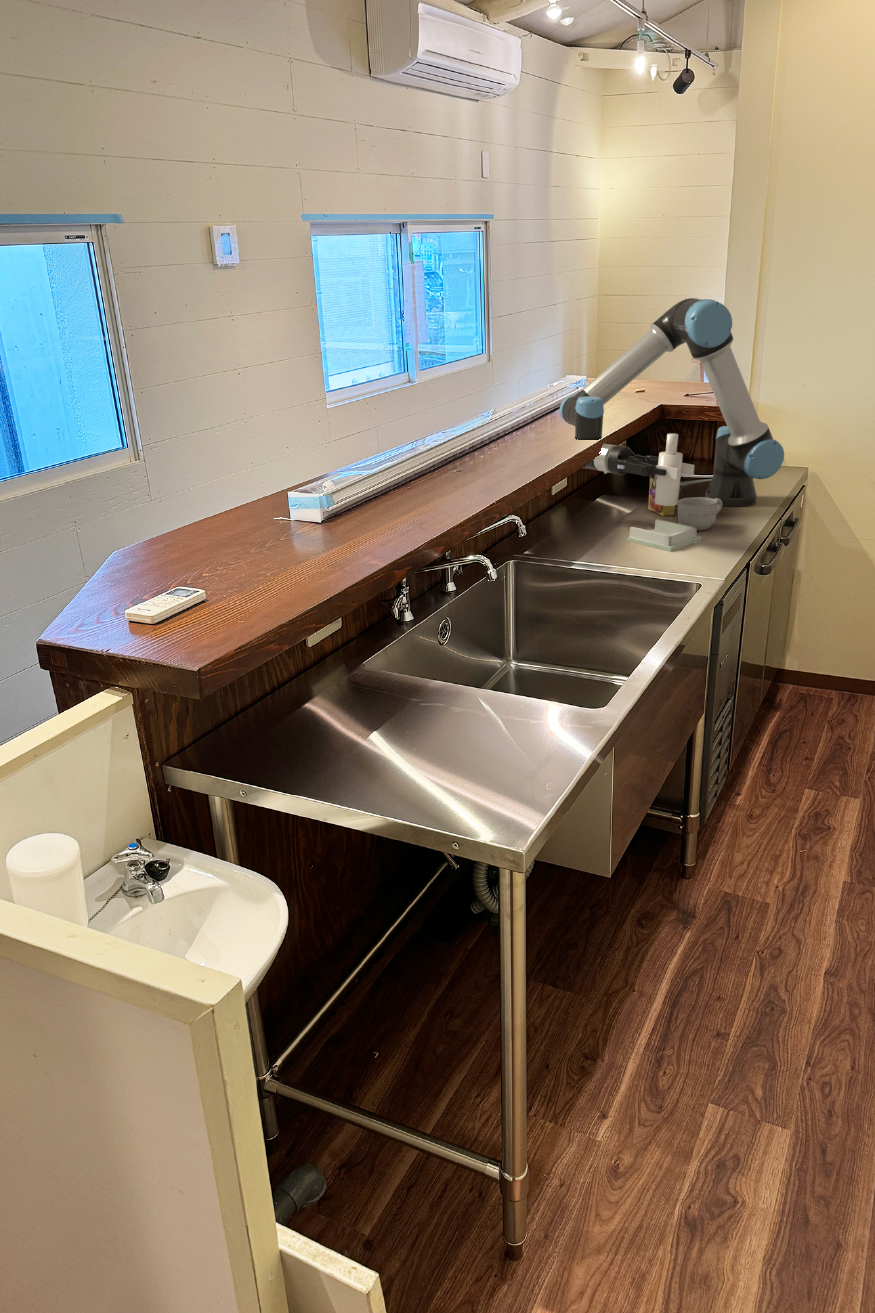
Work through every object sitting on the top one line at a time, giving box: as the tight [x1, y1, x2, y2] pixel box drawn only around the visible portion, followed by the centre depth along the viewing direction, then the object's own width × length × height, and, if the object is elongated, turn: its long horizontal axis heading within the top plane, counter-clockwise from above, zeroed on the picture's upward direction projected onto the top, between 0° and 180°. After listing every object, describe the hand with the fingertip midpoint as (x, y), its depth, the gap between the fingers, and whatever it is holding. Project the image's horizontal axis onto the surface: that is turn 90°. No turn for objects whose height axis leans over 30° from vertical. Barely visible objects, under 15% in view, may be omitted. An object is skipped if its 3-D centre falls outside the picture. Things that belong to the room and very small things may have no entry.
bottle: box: [655, 432, 684, 506], centre depth 249 cm, size 6×6×18 cm
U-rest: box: [626, 518, 703, 552], centre depth 256 cm, size 14×14×4 cm
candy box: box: [647, 474, 676, 517], centre depth 281 cm, size 9×4×15 cm, turn 17°
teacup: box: [677, 496, 723, 531], centre depth 267 cm, size 14×11×8 cm
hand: (685, 472), depth 245 cm, fingers closed on bottle, 6 cm apart
